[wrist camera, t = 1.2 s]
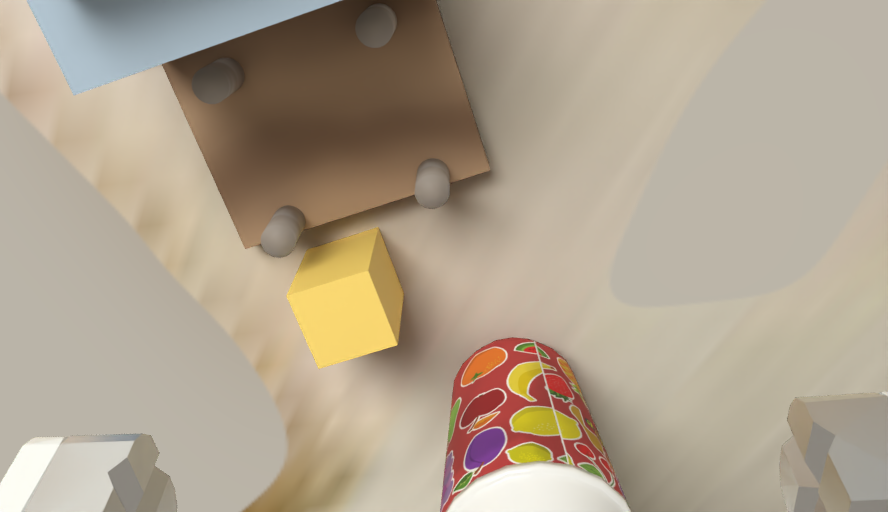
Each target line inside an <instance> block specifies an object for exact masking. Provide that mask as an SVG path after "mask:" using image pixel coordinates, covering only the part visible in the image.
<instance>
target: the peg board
mask: <svg viewBox="0 0 888 512" xmlns="http://www.w3.org/2000/svg"><path fill="white" fill-rule="evenodd" d="M162 66H163V68H164V70H165V72H166V74H167V77H168V79H169V81H170V83H171V86H172V88H173V90H174V92H175V94H176V97H177V99H178V101H179V103H180V105H181V108H182V110H183V112H184V114H185V117H186V119H187V121H188V123H189V125H190V128H191V130H192V132H193V134H194V136H195V139H196V141H197V143H198V145H199V148H200V150H201V152H202V154H203V156H204V159H205V161H206V163H207V165H208V167H209V170H210V172H211V174H212V176H213V178H214V181H215V183H216V185H217V187H218V190H219V192H220V194H221V196H222V198H223V201H224V203H225V205H226V207H227V209H228V212H229V214H230V216H231V218H232V221H233V223H234V225H235V227H236V229H237V232H238V234H239V236H240V238H241V240H242V243H243V245H244V247H245V249H247V248H250V247H253V246H256V245H259V244H261V245H262V247H263V249H264V251H265V252H266V253H268V254H269V255H271V256H273V257H285V256H287V255H289V254H290V253H291V252H292V251H293V249H294V247H295V245H296V243H297V241H298V239H299V237H300V235H301V233H302V231H303V230H306V229H309V228H312V227H315V226H319V225H322V224H325V223H328V222H331V221H334V220H337V219H340V218H344V217H347V216H350V215H353V214H356V213H359V212H362V211H365V210H368V209H372V208H375V207H378V206H381V205H384V204H387V203H390V202H393V201H396V200H400V199H403V198H406V197H409V196H412V195H415V197H416V200H417V201H418V202H419V204H421V205H422V206H423V207H426V208H429V209H435V208H439V207H441V206H442V205H444V204H445V203H446V202H447V200H448V198H449V194H450V183H452V182H456V181H459V180H462V179H465V178H468V177H471V176H474V175H477V174H480V173H484V172H487V171H490V167H489V162H488V159H487V156H486V153H485V150H484V146H483V143H482V140H481V137H480V134H479V131H478V128H477V125H476V122H475V119H474V116H473V112H472V109H471V106H470V103H469V100H468V97H467V94H466V91H465V88H464V85H463V82H462V79H461V75H460V72H459V69H458V66H457V63H456V60H455V57H454V54H453V51H452V48H451V45H450V41H449V38H448V35H447V32H446V29H445V26H444V23H443V20H442V17H441V14H440V11H439V7H438V4H437V1H436V0H341V1H338V2H335V3H333V4H330V5H327V6H324V7H321V8H318V9H316V10H313V11H310V12H307V13H304V14H302V15H299V16H296V17H293V18H290V19H287V20H285V21H282V22H279V23H276V24H273V25H271V26H268V27H265V28H262V29H259V30H257V31H254V32H251V33H248V34H245V35H242V36H240V37H237V38H234V39H231V40H228V41H226V42H223V43H220V44H217V45H214V46H211V47H209V48H206V49H203V50H200V51H197V52H195V53H192V54H189V55H186V56H183V57H181V58H178V59H175V60H172V61H169V62H166V63H164V64H162Z"/></svg>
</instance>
